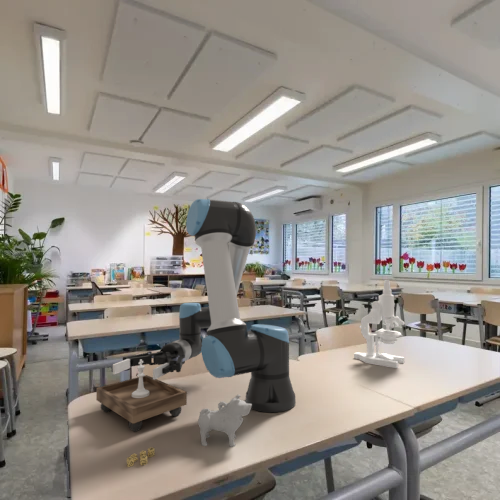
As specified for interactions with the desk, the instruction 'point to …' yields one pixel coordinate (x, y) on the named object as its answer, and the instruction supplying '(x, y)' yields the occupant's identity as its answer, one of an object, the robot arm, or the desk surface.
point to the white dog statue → (223, 419)
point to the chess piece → (140, 384)
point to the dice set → (142, 457)
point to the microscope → (381, 330)
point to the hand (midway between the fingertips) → (133, 371)
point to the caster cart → (141, 400)
